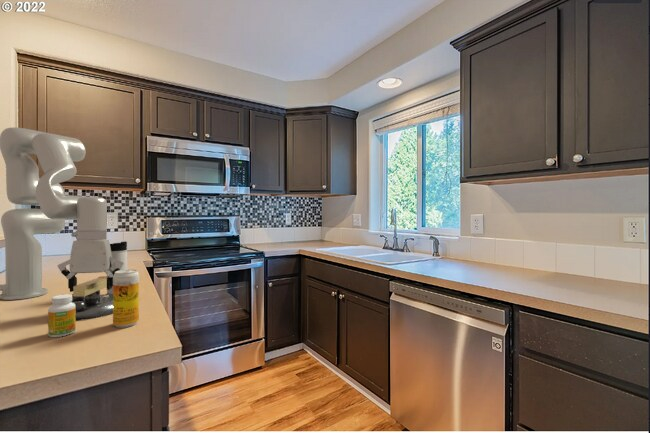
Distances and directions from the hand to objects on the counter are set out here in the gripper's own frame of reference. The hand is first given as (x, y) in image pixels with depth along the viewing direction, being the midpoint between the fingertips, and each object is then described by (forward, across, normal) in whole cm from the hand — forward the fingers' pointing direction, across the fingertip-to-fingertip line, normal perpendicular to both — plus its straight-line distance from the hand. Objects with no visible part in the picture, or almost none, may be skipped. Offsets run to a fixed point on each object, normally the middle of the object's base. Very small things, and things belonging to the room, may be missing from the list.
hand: (91, 289), depth 98 cm
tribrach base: (+6, 0, 0) cm, 7 cm away
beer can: (+6, +14, -17) cm, 23 cm away
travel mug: (+7, +2, +18) cm, 19 cm away
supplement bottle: (+7, 0, -20) cm, 21 cm away
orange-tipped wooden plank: (+4, 0, 0) cm, 5 cm away
